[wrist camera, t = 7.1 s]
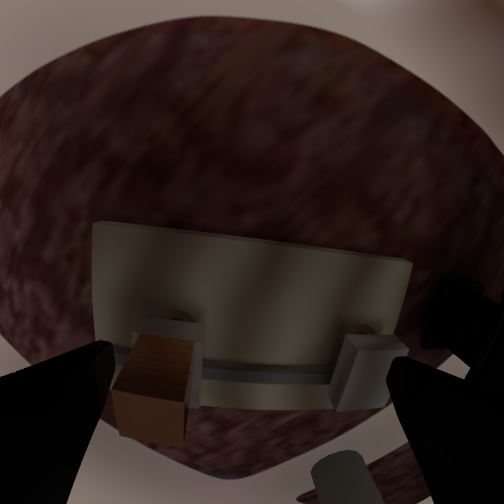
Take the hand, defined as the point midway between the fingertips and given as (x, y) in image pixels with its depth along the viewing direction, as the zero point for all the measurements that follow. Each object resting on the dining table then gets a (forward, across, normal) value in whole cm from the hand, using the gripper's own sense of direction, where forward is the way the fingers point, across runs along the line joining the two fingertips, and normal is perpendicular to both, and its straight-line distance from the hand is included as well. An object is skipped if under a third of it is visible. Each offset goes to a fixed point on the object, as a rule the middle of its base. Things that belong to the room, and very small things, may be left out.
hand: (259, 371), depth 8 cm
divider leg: (+10, +4, +5) cm, 12 cm away
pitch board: (+12, -1, +4) cm, 13 cm away
